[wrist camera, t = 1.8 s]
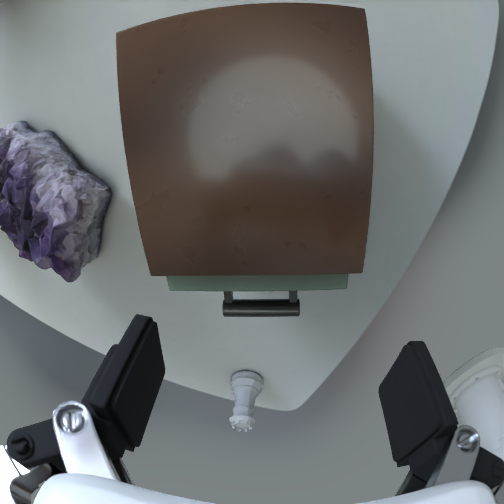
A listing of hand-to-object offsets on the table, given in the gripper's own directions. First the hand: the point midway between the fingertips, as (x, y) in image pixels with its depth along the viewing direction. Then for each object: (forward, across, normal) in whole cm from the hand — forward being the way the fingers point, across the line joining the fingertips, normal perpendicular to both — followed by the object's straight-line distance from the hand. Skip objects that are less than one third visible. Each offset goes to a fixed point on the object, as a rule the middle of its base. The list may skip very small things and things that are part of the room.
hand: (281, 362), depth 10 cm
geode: (+18, +25, -1) cm, 31 cm away
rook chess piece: (+18, +1, +25) cm, 30 cm away
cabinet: (+17, +2, -6) cm, 19 cm away
